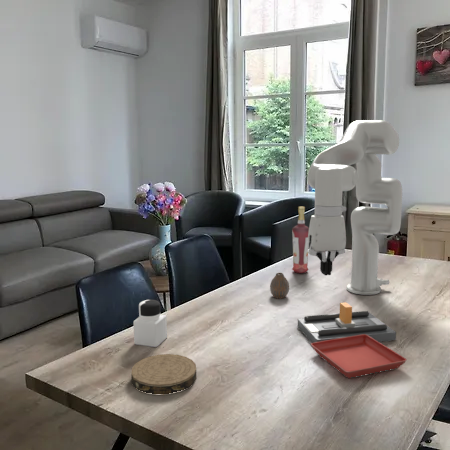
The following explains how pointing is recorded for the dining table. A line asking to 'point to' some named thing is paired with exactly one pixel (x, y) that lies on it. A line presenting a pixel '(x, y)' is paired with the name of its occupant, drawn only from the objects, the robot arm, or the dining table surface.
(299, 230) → the liquor
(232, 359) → the dining table surface
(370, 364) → the plant saucer
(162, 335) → the medicine bottle
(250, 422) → the dining table surface
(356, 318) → the switch panel
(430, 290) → the dining table surface
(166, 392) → the round wood slice
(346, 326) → the breaker lever
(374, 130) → the robot arm
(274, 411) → the dining table surface
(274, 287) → the vase
